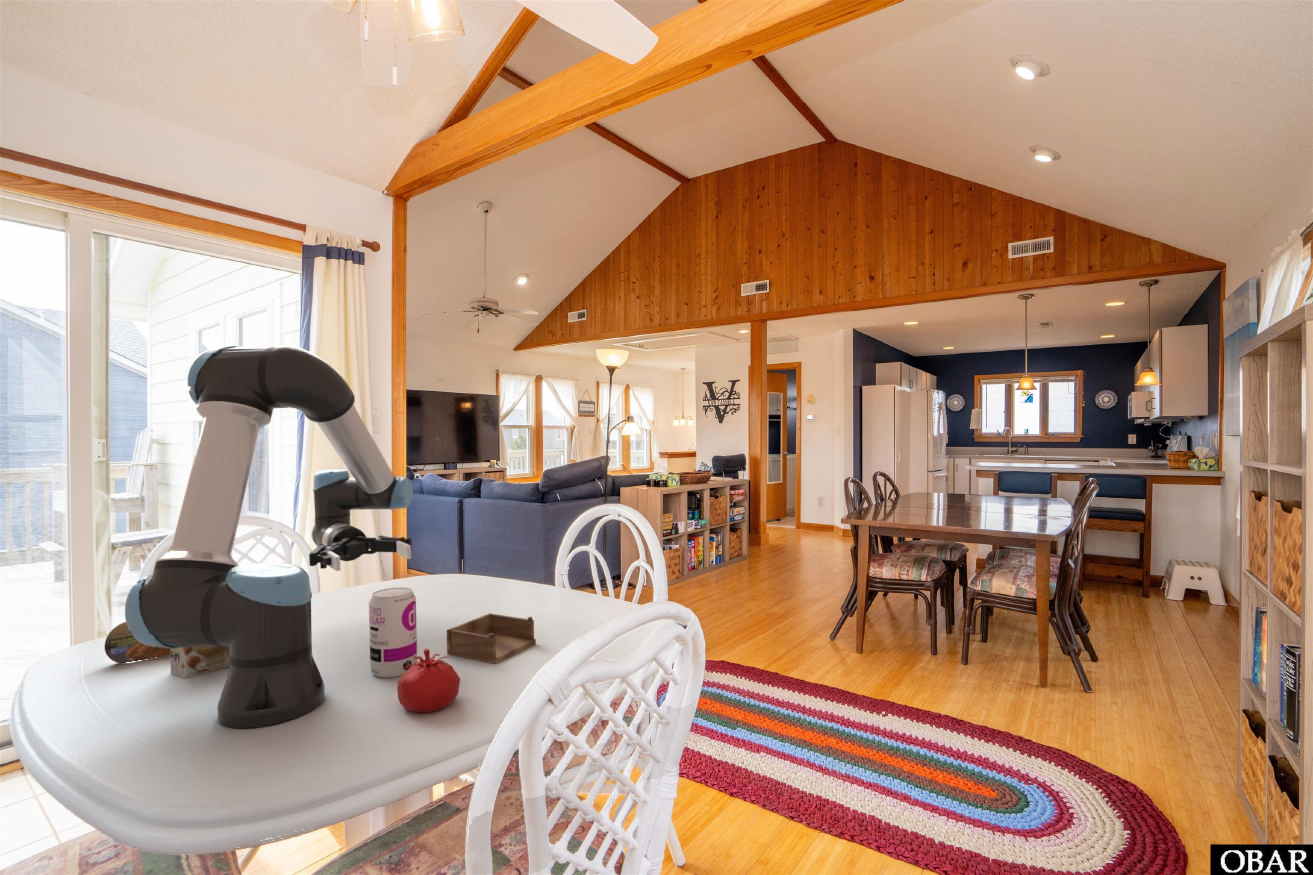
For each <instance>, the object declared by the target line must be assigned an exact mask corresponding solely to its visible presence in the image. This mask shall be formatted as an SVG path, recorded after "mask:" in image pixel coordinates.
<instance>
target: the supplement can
mask: <svg viewBox="0 0 1313 875" xmlns="http://www.w3.org/2000/svg"><path fill="white" fill-rule="evenodd" d="M371 594H372V596H371V598H370V600H369V601H368V622H369V631H368V632H369V664H370V665H369V667H370V669H369V670H370V672H371V673H372V674H373V675H374V676H375V677H377V678H382V679H383V678H384V679H386V678H387V679H388V678H389V679H390V678H391V679H392V678H395V677H396V678H397V677H401V676H402V675H403V674H404V673H405V672H406V671H407V670H408V669H409V668H411V667H412V666H413V665H411V666H409V667H407V666H408V665H410V664H416V663H417V662H418V659H415V658H414V656H415V657H418V639H417V638H418V635H417V634H418V632H417V629H418V628H417V597H416V595H415V593H414V592H413V589H412V588H410V587H404V586H403V587H400V586H399V587H389V588H384V589H379V590H377V591H374V592H373V593H371ZM403 667H407V668H403Z"/></svg>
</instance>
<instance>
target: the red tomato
mask: <svg viewBox="0 0 1313 875" xmlns="http://www.w3.org/2000/svg"><path fill="white" fill-rule="evenodd" d="M430 652H431V651H430V649H428V648H425V649H423V654H424V658H423V657H422V656H418V655H417V657H415V656H414V658H415V659H417V660H419V661H417V663H416V664H410V665H408V666H407V667H409V666H411V665H413V666H412V667H411V668H409V669H408V670H407V671H406V672H405V673H404V674H403V675H401V676H400V677H399V679H398V682H397V687H396V688H397V689H396V690H397V698H398V702H399V704H400V705H401V706H402V707H403V708H404V709H406V710H408V711H410V712H415V713H418V712H419V713H426V714H427V713H428V714H429V713H433V712H437V711H439V710H441V709H443V708H446V707H448V706H449V705H450V704H452V703H453V702H454V701H455V700H456V698H457V696H458V694H459V691H460V690H459V689H460V684H461V683H460V682H461V677H460V676H459V674H458V673H457V671H456V670H455V668H454V667H453V666H452V665H451V664H449V663H448V662H446V661H445V660H443V659H447V658H448V659H449V658H453V656H441V657H440V655H441V654H440V653H434V655H433V656H431V655H430ZM436 656H437V657H440V658H437V659H435V658H436ZM407 667H403V668H407Z"/></svg>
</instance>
